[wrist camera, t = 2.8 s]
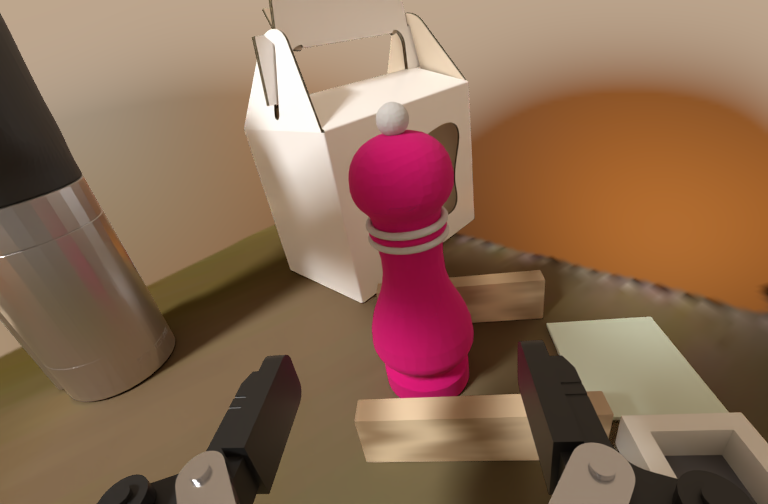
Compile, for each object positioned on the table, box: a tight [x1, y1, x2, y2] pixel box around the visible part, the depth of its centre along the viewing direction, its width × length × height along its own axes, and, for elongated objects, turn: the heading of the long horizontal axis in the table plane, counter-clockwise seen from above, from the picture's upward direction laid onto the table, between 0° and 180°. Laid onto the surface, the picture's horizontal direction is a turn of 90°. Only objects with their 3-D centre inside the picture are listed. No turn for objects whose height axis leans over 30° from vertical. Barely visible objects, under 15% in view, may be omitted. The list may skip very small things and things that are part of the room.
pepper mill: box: [348, 102, 474, 398], centre depth 24 cm, size 7×7×20 cm
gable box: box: [244, 0, 474, 303], centre depth 42 cm, size 22×13×28 cm, turn 137°
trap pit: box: [615, 412, 768, 504], centre depth 19 cm, size 6×6×2 cm
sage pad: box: [546, 317, 729, 420], centre depth 27 cm, size 8×9×1 cm
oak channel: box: [354, 270, 614, 462], centre depth 28 cm, size 14×14×4 cm
